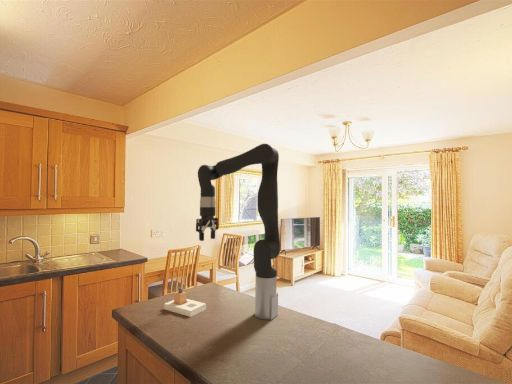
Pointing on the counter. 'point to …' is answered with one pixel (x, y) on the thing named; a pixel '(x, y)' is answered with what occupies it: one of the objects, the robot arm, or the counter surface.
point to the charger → (180, 297)
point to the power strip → (186, 307)
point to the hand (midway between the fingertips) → (207, 239)
